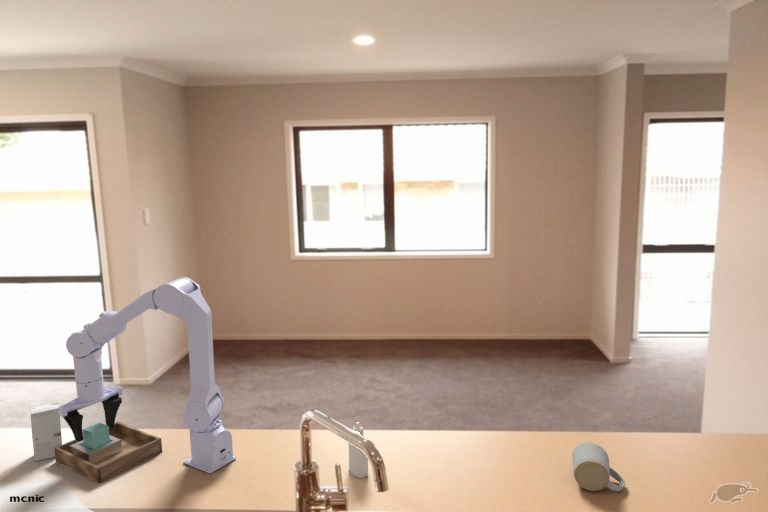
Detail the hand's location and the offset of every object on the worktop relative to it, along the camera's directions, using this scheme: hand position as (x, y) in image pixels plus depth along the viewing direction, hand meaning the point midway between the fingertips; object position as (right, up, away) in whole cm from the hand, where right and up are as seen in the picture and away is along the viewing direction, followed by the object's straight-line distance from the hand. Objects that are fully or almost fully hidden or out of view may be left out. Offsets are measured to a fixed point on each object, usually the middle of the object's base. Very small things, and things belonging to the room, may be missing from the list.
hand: (95, 433), depth 128 cm
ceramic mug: (+116, -7, -12) cm, 116 cm away
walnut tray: (+3, -6, +2) cm, 7 cm away
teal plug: (0, -5, +1) cm, 5 cm away
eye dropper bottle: (+64, -7, -7) cm, 64 cm away
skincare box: (-13, -6, +3) cm, 15 cm away
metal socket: (0, -6, +1) cm, 6 cm away
